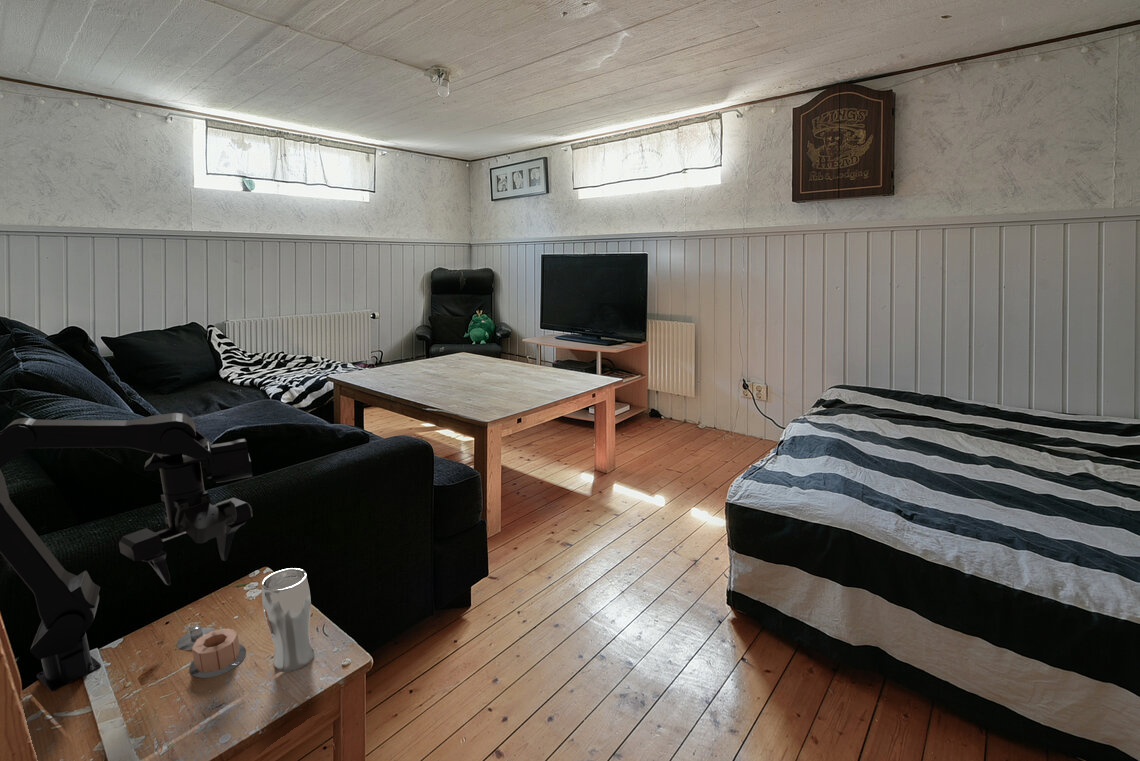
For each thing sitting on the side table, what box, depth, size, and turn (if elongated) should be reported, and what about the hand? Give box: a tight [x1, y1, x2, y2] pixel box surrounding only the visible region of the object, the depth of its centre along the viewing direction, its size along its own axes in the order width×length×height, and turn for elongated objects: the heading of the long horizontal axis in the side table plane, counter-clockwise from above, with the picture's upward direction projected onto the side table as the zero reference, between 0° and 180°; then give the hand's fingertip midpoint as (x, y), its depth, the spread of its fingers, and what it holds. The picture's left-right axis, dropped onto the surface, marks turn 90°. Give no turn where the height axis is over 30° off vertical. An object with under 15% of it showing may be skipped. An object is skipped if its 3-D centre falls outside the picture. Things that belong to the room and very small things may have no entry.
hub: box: [189, 643, 247, 679], centre depth 94 cm, size 8×8×3 cm
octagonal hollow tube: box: [191, 627, 240, 673], centre depth 94 cm, size 6×6×4 cm
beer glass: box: [261, 567, 315, 673], centre depth 94 cm, size 7×7×15 cm
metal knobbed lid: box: [176, 624, 217, 651], centre depth 100 cm, size 6×6×2 cm
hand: (197, 571), depth 100 cm, fingers open, 9 cm apart
